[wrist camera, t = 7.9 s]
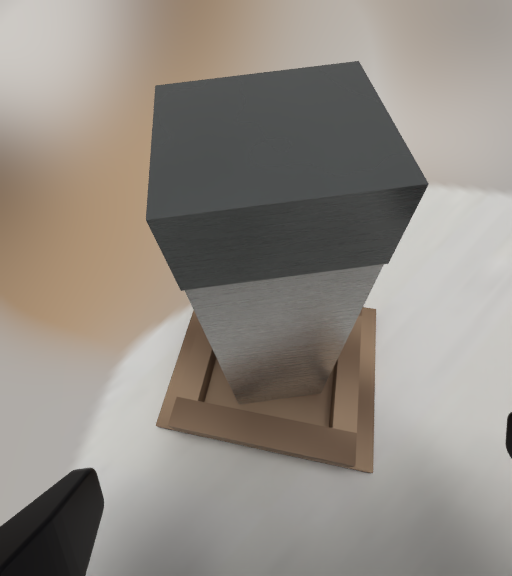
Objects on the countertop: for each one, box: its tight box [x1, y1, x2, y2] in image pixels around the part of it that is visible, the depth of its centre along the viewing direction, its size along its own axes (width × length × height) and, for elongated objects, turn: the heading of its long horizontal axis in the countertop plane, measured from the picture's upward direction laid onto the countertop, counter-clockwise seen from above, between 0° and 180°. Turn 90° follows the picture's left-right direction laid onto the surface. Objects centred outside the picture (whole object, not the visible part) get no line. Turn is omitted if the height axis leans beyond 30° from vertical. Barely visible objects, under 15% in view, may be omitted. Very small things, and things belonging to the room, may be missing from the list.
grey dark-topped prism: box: [146, 61, 428, 405], centre depth 11 cm, size 4×4×13 cm
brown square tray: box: [156, 307, 376, 473], centre depth 16 cm, size 8×10×2 cm
